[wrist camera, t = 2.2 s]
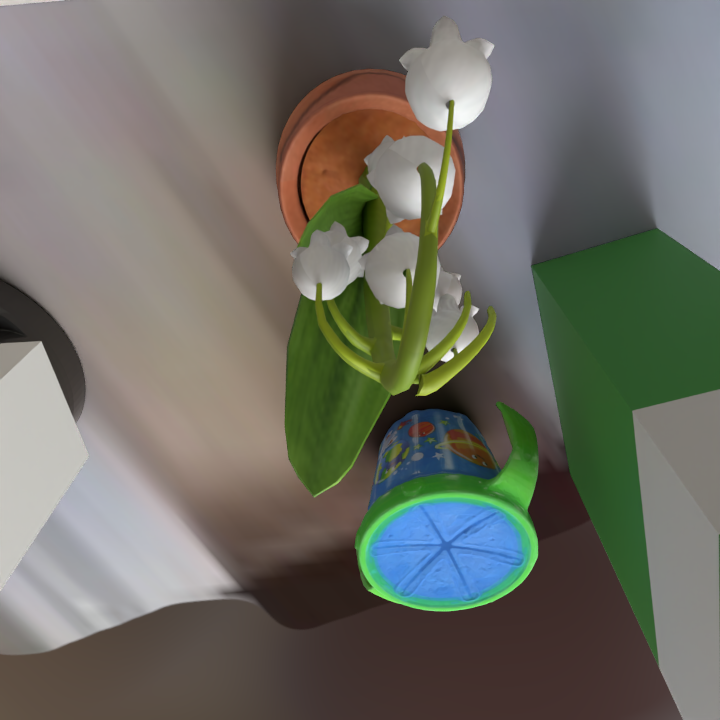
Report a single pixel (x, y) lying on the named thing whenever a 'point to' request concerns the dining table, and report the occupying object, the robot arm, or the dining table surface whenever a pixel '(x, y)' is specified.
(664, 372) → the hardback book
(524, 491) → the snack cup
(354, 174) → the potted flower
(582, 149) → the dining table surface
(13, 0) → the white open hinged box
